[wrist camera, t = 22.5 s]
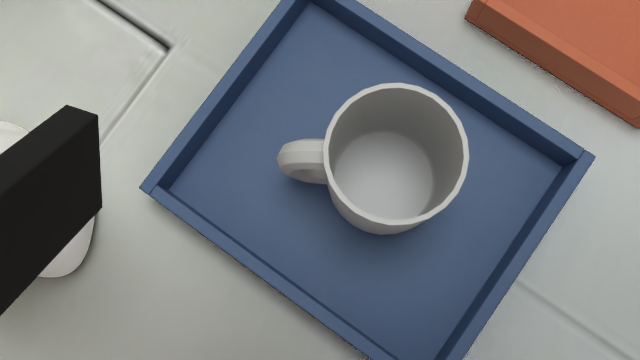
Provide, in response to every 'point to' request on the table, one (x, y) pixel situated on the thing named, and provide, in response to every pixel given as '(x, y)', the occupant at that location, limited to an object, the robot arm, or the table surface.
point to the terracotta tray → (574, 44)
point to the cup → (385, 158)
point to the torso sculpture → (75, 251)
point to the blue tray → (315, 201)
